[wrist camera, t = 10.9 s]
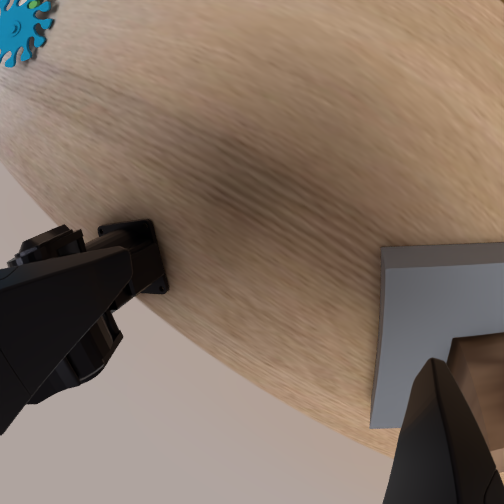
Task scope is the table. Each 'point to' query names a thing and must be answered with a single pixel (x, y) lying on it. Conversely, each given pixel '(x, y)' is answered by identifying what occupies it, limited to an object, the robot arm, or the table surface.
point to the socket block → (430, 314)
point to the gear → (21, 28)
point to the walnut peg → (482, 385)
